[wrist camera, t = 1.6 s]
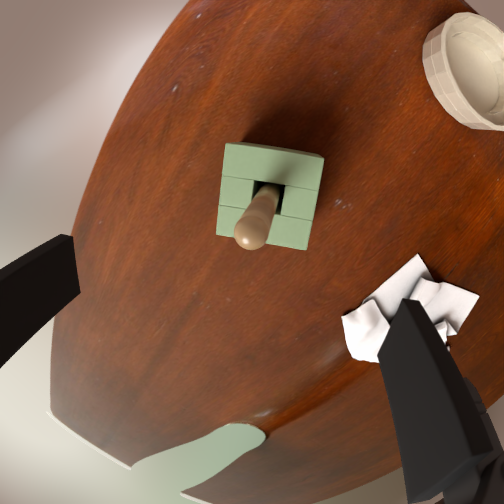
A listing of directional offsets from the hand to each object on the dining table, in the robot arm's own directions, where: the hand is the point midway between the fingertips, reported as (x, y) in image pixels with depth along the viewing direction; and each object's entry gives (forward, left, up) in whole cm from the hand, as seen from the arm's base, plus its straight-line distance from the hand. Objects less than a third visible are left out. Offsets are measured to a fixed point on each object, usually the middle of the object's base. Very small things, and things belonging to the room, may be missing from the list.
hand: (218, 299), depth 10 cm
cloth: (+15, +24, -24) cm, 37 cm away
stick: (0, 0, -24) cm, 24 cm away
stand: (0, 0, -24) cm, 24 cm away
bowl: (-20, +22, -24) cm, 38 cm away
